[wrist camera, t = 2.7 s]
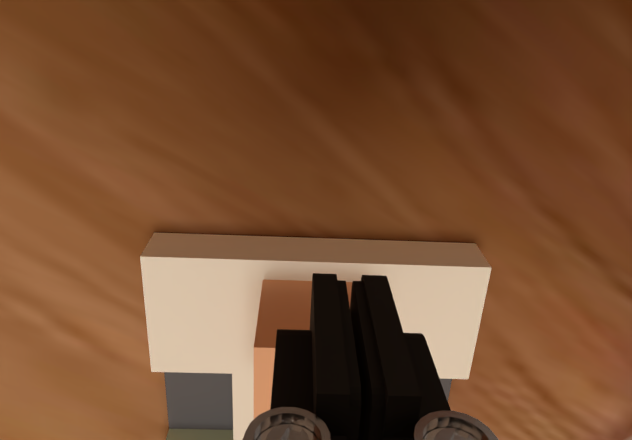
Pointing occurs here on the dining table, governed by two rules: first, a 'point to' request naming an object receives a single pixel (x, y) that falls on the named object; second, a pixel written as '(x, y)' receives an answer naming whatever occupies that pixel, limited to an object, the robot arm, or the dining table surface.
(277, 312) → the block
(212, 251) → the deck
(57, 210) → the dining table surface
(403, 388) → the robot arm
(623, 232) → the dining table surface
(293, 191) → the dining table surface
